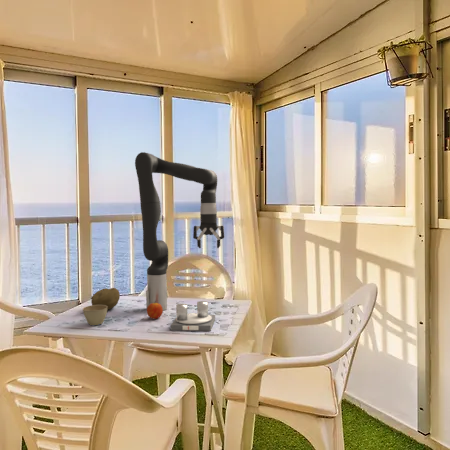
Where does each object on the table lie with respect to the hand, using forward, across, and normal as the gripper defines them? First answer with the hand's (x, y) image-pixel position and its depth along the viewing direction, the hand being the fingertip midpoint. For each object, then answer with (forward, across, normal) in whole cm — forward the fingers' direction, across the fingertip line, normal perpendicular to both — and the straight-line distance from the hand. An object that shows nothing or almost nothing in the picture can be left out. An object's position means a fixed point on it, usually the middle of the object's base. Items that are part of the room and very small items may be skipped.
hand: (208, 248), depth 191 cm
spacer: (+27, -1, -18) cm, 33 cm away
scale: (+30, -4, -21) cm, 37 cm away
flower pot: (+30, -46, -22) cm, 59 cm away
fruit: (+30, -23, -12) cm, 40 cm away
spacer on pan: (+27, -8, -24) cm, 37 cm away
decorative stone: (+30, -51, +2) cm, 59 cm away
